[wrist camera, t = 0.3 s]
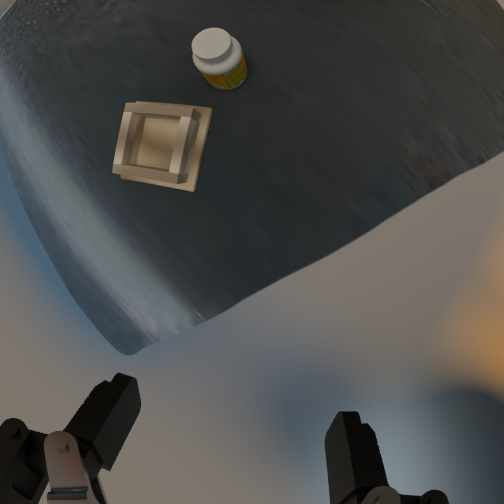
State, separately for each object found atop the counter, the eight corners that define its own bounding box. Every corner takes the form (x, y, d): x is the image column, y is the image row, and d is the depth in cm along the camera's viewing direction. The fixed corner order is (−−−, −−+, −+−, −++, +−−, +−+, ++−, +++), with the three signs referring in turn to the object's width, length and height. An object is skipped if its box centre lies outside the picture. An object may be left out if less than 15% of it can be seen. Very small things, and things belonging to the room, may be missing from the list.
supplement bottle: (232, 97, 31) (217, 72, 22) (199, 80, 31) (174, 53, 21) (255, 66, 30) (248, 33, 20) (221, 50, 29) (204, 16, 20)
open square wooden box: (139, 102, 32) (121, 95, 27) (213, 109, 32) (203, 100, 27) (123, 177, 35) (104, 179, 30) (195, 191, 35) (183, 194, 30)
